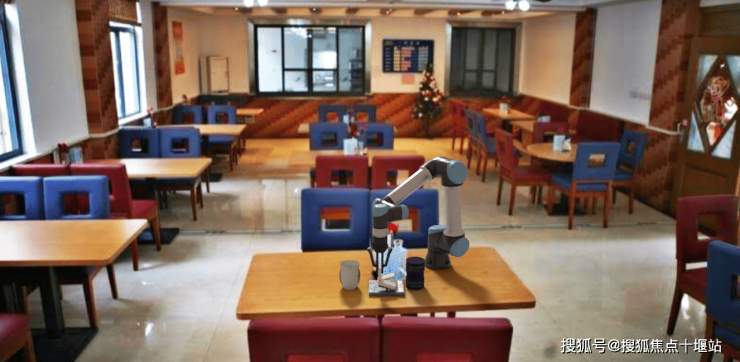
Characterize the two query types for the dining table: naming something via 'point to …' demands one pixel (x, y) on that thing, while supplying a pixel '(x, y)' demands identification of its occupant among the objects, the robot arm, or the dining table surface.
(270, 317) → the dining table surface
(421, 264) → the storage jar
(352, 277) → the pitcher
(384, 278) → the paddle far
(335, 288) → the dining table surface
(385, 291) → the breaker panel
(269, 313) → the dining table surface
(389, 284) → the paddle near
